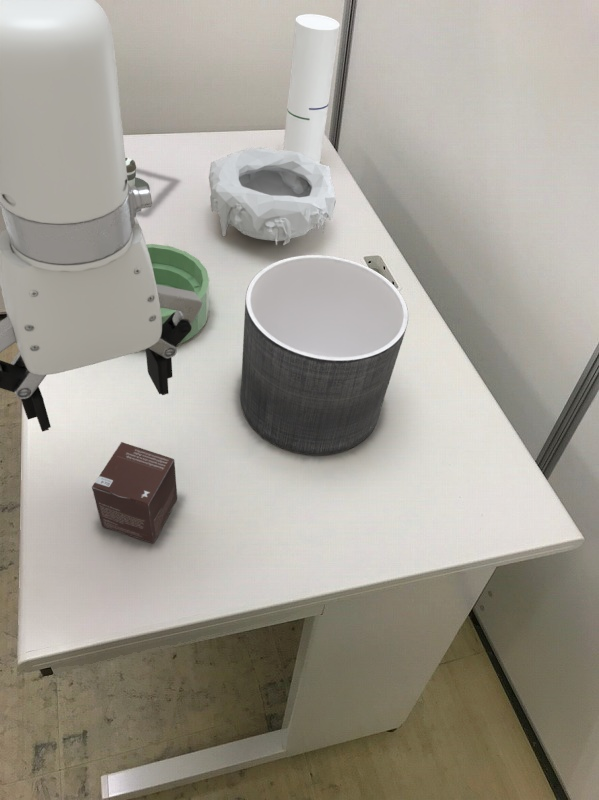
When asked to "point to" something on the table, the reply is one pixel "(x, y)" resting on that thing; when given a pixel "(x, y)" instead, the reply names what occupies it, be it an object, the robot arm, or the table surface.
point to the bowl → (271, 193)
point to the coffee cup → (133, 175)
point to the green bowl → (181, 279)
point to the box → (136, 492)
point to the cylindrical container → (310, 84)
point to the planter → (319, 352)
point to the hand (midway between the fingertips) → (102, 400)
